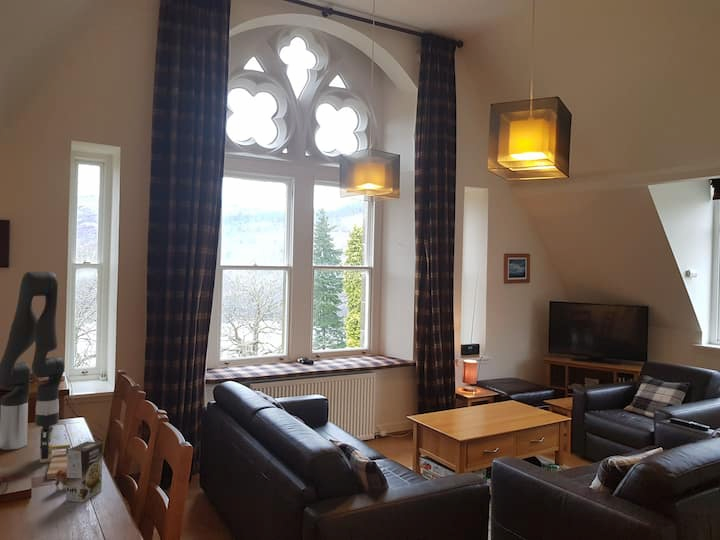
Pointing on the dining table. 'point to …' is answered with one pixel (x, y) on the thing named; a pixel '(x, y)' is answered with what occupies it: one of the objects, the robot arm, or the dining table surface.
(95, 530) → the dining table surface
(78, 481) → the coffee box
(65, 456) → the board
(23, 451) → the dining table surface
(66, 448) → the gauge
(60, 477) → the bull figurine
